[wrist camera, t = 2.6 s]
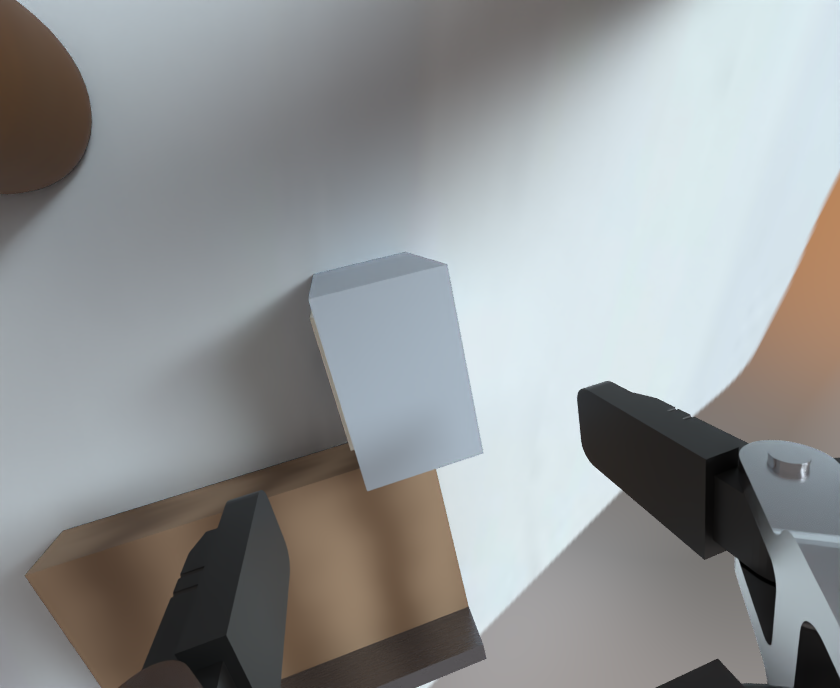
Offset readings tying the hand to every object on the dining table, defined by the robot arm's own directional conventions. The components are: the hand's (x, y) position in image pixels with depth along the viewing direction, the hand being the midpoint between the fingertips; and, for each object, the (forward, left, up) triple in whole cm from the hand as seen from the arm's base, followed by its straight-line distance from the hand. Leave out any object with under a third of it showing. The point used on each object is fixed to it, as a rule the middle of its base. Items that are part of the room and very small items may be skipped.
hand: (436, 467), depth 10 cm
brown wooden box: (+9, +12, -14) cm, 20 cm away
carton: (0, 0, -14) cm, 14 cm away
